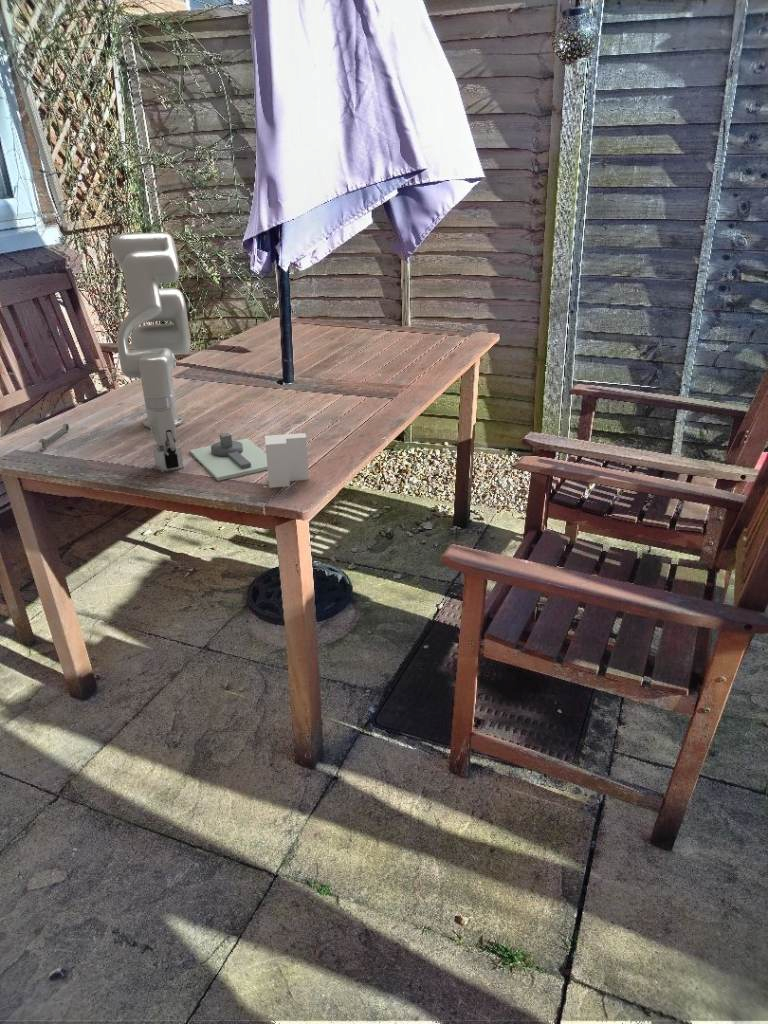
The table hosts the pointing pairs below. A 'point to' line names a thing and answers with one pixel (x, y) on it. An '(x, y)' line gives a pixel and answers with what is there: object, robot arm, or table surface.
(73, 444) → the table surface
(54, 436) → the combination wrench
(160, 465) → the brushed aluminum cube
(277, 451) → the corner bracket
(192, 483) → the table surface
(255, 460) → the board
